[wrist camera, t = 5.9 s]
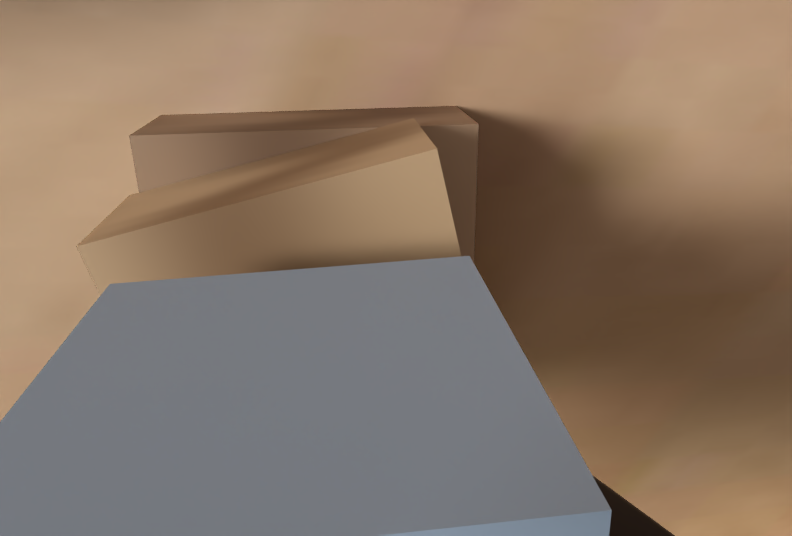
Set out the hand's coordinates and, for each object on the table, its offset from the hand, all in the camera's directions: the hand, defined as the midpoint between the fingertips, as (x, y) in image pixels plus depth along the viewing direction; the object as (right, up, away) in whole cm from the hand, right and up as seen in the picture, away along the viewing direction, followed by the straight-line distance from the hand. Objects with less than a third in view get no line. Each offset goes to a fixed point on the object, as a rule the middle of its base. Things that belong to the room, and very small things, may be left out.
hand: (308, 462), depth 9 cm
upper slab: (-1, +2, +5) cm, 6 cm away
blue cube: (0, 0, +1) cm, 1 cm away
